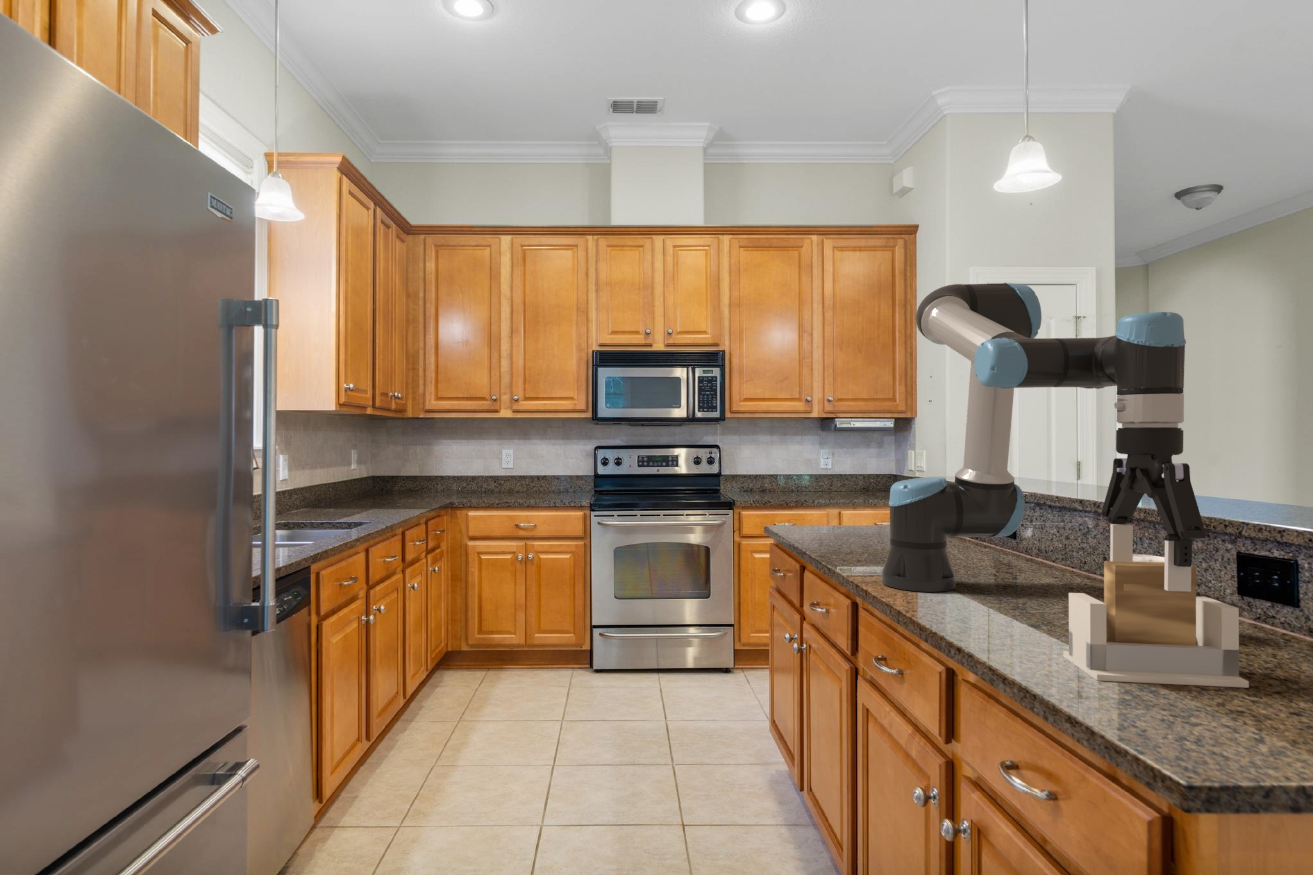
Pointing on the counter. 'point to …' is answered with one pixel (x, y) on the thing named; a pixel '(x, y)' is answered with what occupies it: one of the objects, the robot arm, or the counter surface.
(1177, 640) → the door panel
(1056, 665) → the counter surface
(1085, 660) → the door track
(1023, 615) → the counter surface
